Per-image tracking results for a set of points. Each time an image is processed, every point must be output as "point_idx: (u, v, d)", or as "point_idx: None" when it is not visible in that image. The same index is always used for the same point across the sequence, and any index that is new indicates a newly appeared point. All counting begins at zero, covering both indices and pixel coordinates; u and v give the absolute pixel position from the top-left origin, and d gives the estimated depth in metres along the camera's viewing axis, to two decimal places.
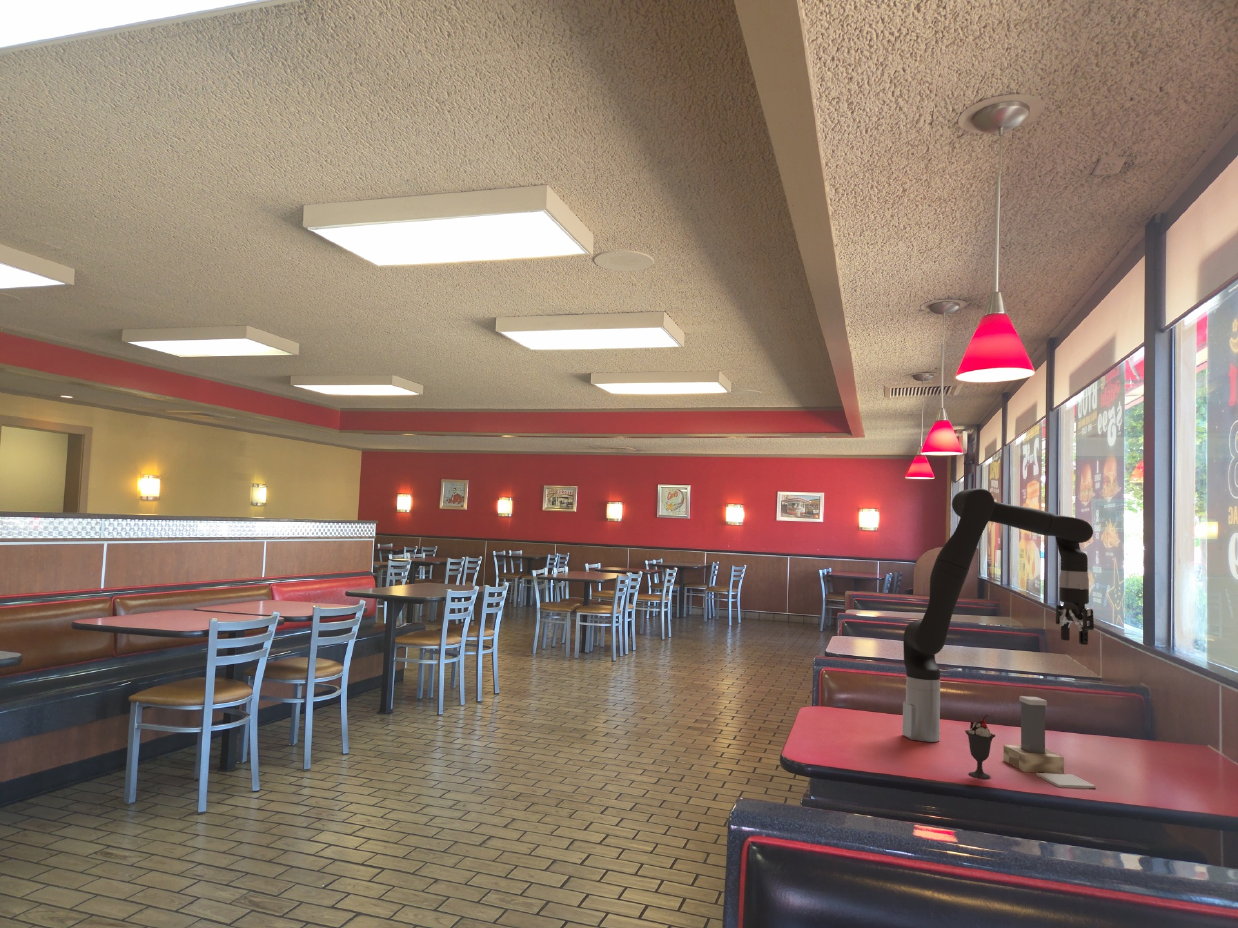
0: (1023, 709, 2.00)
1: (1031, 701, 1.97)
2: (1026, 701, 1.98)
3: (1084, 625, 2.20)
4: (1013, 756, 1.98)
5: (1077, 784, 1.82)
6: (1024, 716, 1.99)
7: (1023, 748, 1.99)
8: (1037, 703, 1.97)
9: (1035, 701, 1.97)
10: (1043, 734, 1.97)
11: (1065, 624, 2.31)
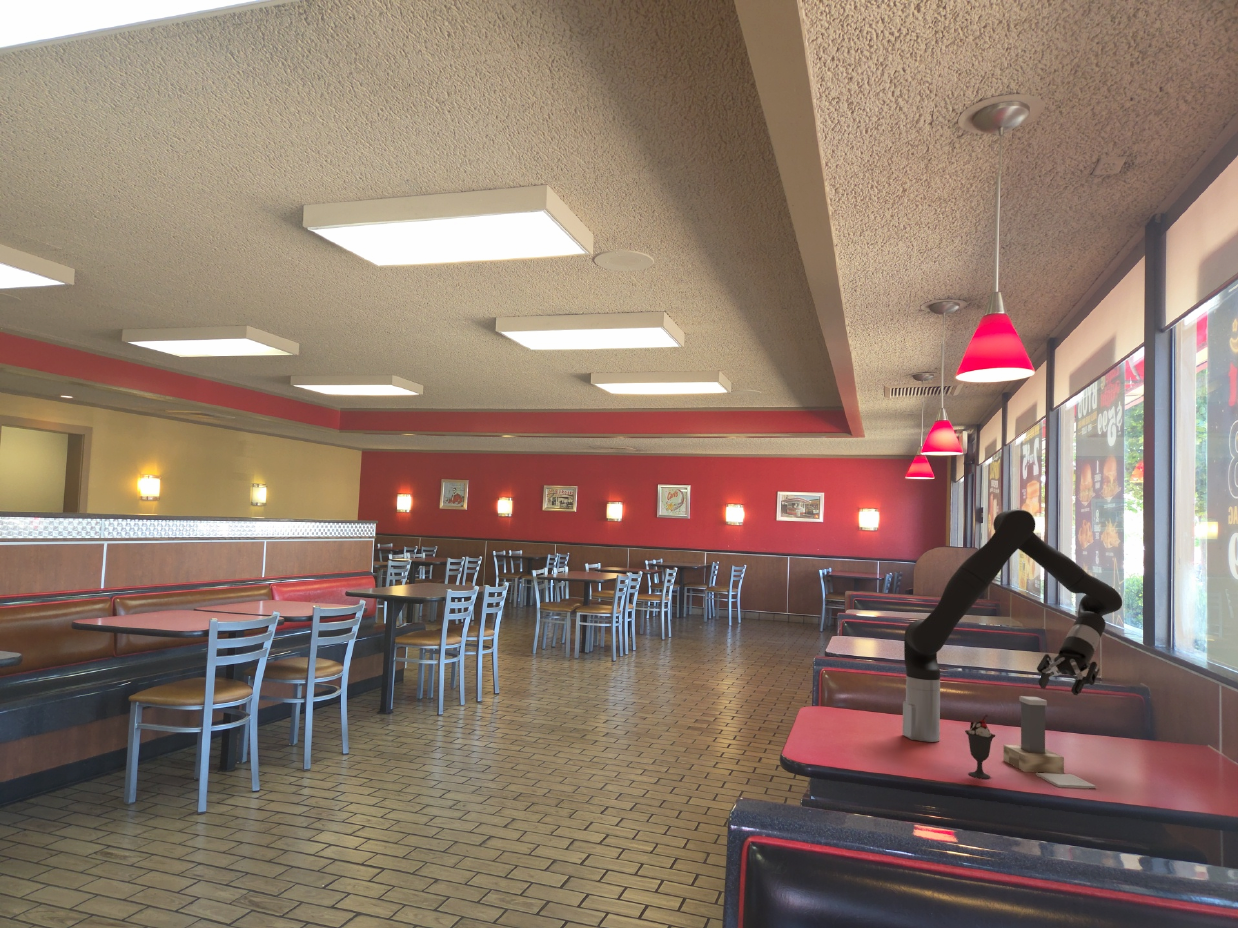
0: (1023, 709, 2.00)
1: (1031, 701, 1.97)
2: (1026, 701, 1.98)
3: (1089, 675, 2.02)
4: (1013, 756, 1.98)
5: (1077, 784, 1.82)
6: (1024, 716, 1.99)
7: (1023, 748, 1.99)
8: (1037, 703, 1.97)
9: (1035, 701, 1.97)
10: (1043, 734, 1.97)
11: None
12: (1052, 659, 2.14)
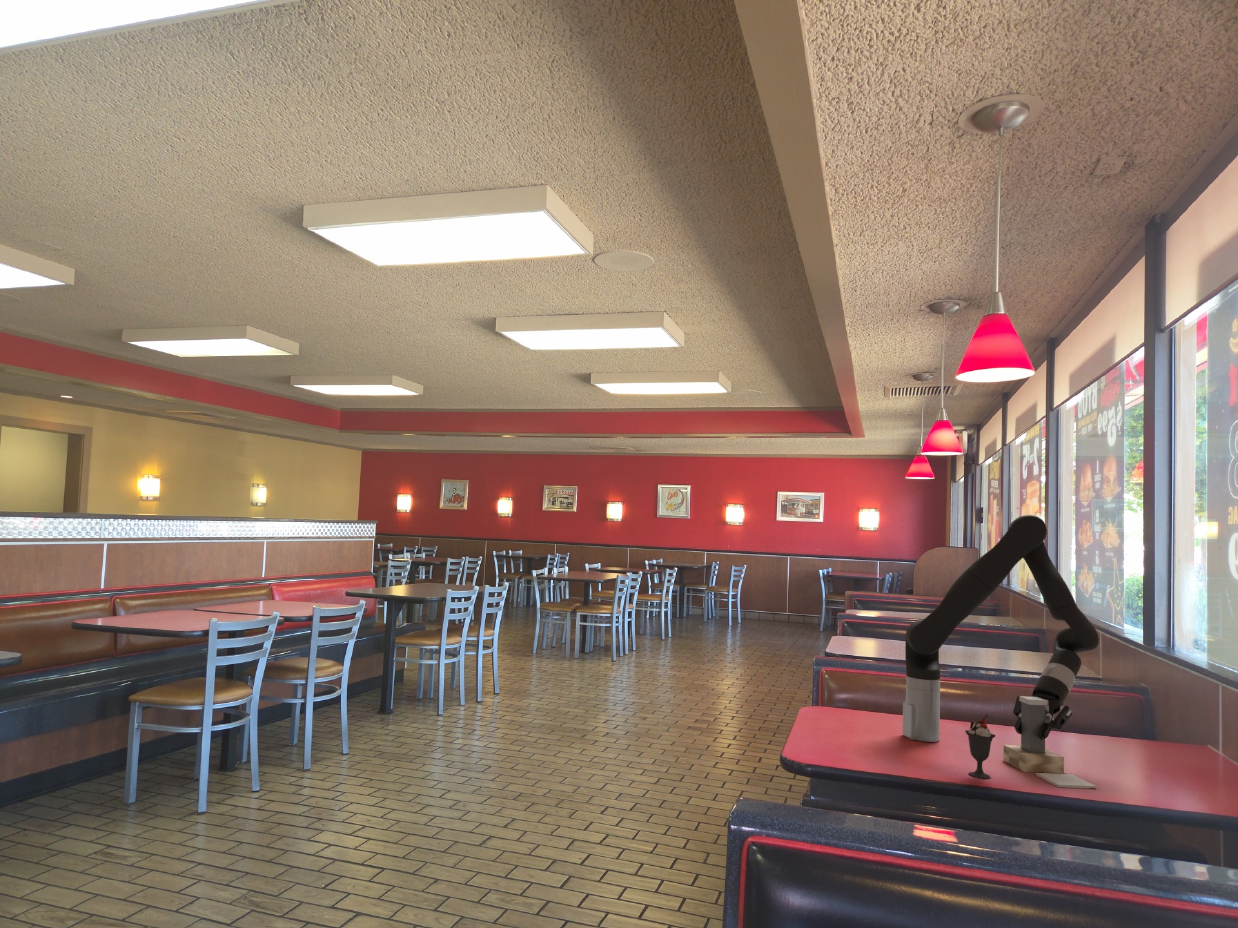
0: (1023, 709, 2.00)
1: (1031, 701, 1.97)
2: (1026, 701, 1.98)
3: (1057, 719, 1.95)
4: (1013, 756, 1.98)
5: (1077, 784, 1.82)
6: (1024, 716, 1.99)
7: (1023, 748, 1.99)
8: (1037, 703, 1.97)
9: (1035, 701, 1.97)
10: None
11: None
12: None
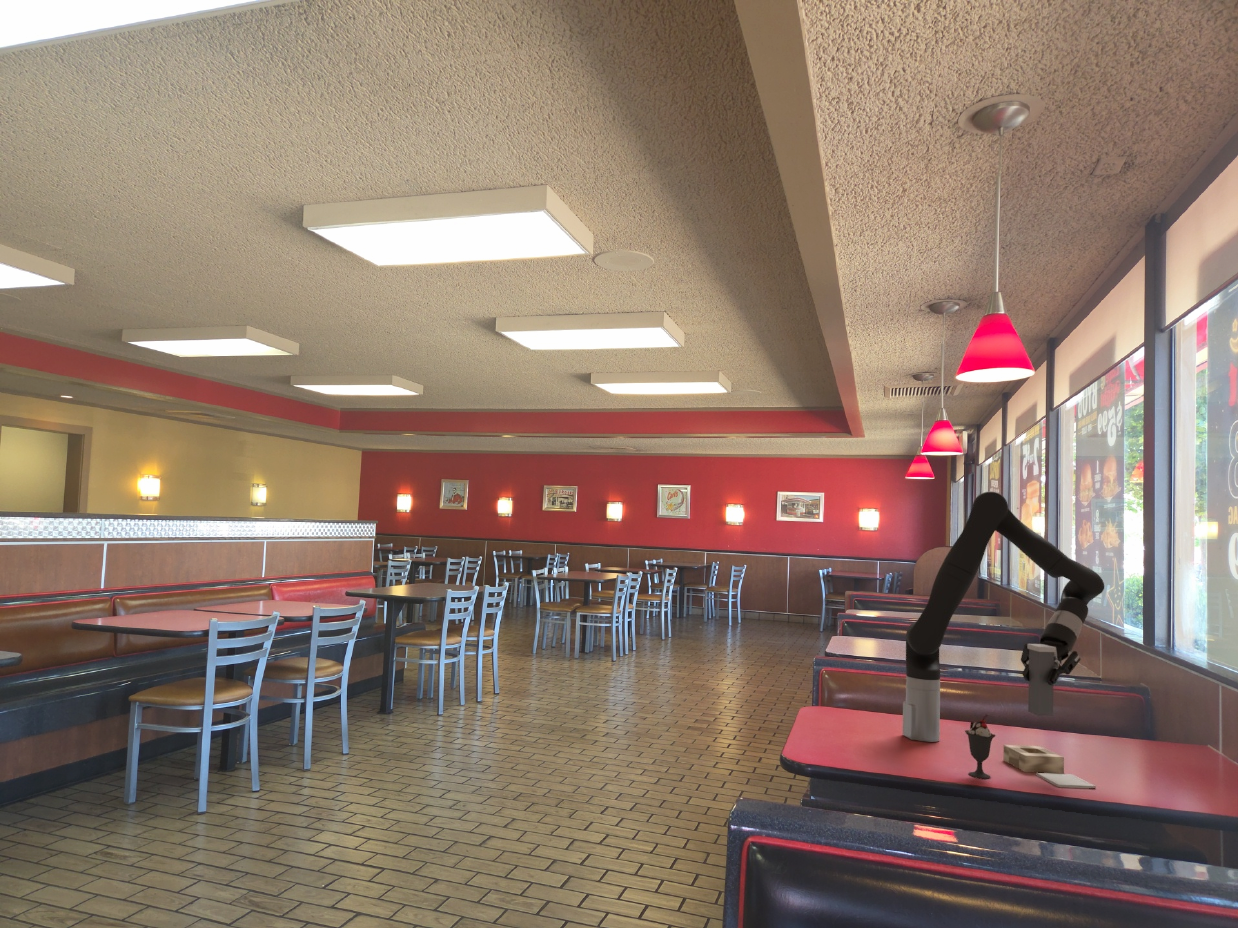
0: (1031, 657, 1.98)
1: (1041, 648, 1.95)
2: (1035, 648, 1.97)
3: (1065, 664, 1.94)
4: (1013, 756, 1.98)
5: (1077, 784, 1.82)
6: (1032, 663, 1.98)
7: (1031, 695, 1.98)
8: (1046, 650, 1.96)
9: (1044, 648, 1.96)
10: None
11: None
12: None
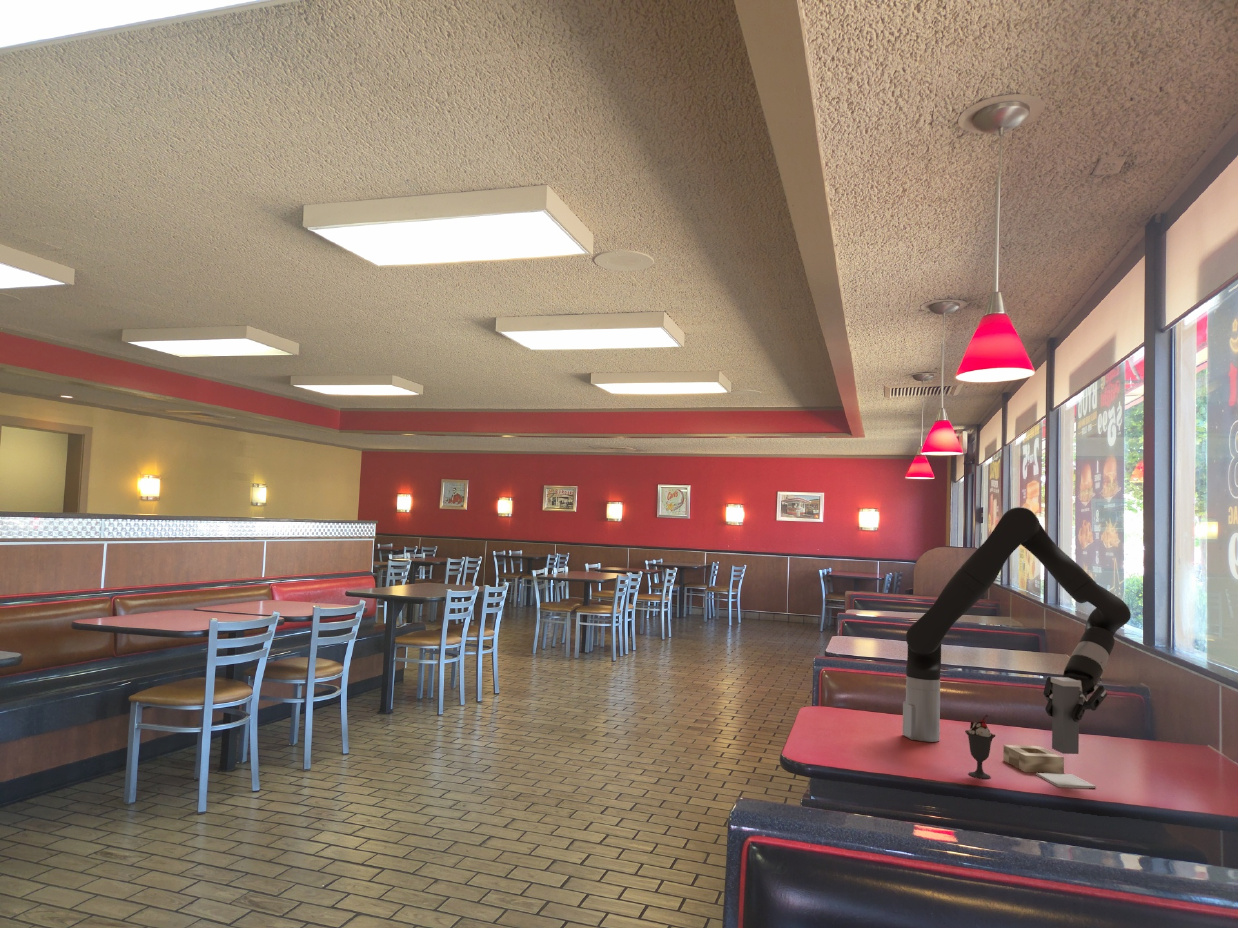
0: (1055, 691, 1.88)
1: (1065, 682, 1.85)
2: (1059, 682, 1.87)
3: (1091, 700, 1.84)
4: (1013, 756, 1.98)
5: (1077, 784, 1.82)
6: (1056, 698, 1.88)
7: (1055, 732, 1.88)
8: (1071, 684, 1.86)
9: (1069, 682, 1.86)
10: None
11: None
12: None
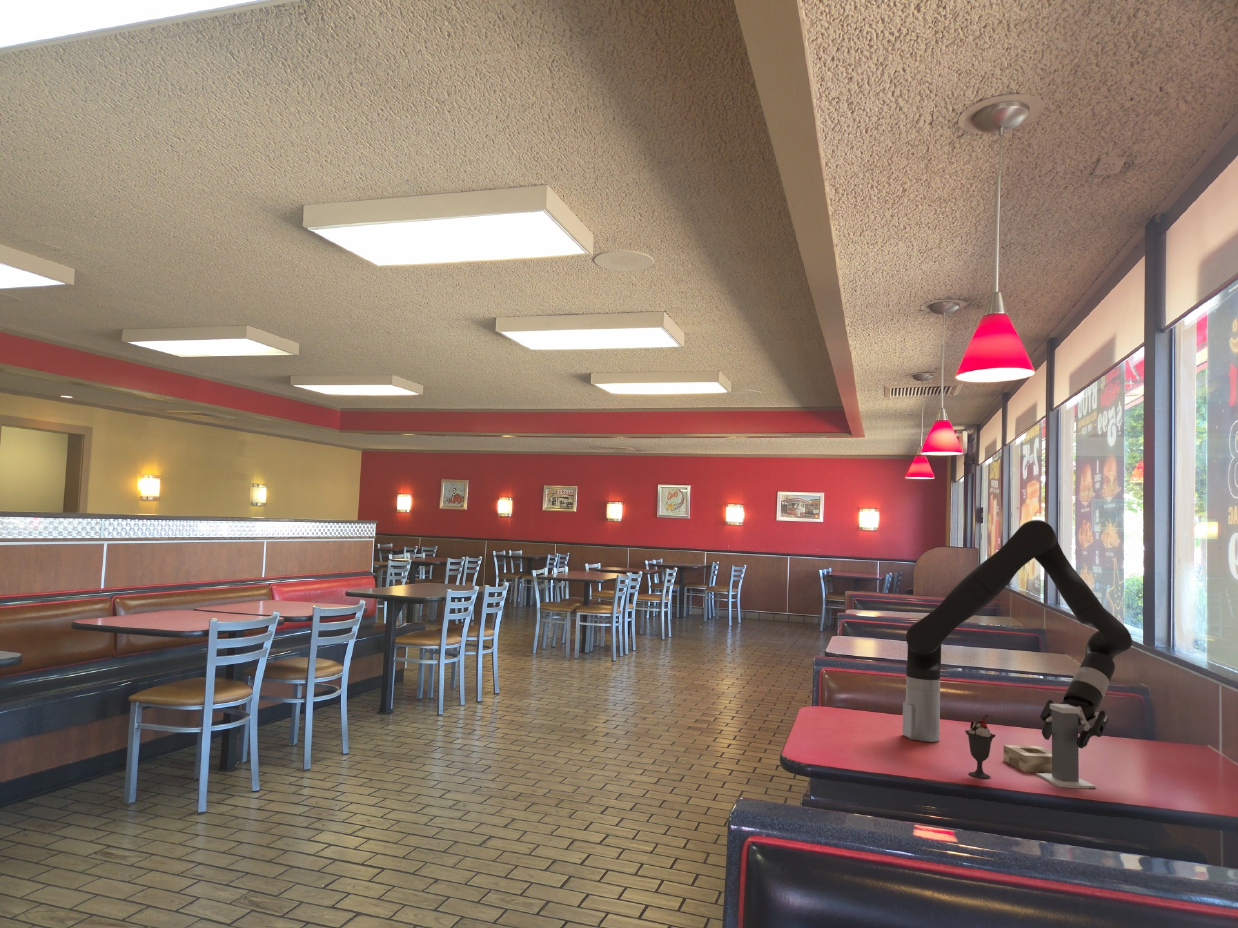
0: (1054, 718, 1.88)
1: (1064, 709, 1.85)
2: (1058, 709, 1.86)
3: (1096, 726, 1.83)
4: (1013, 756, 1.98)
5: (1077, 784, 1.82)
6: (1056, 725, 1.88)
7: (1055, 759, 1.87)
8: (1070, 711, 1.85)
9: (1068, 709, 1.85)
10: (1076, 744, 1.85)
11: None
12: None
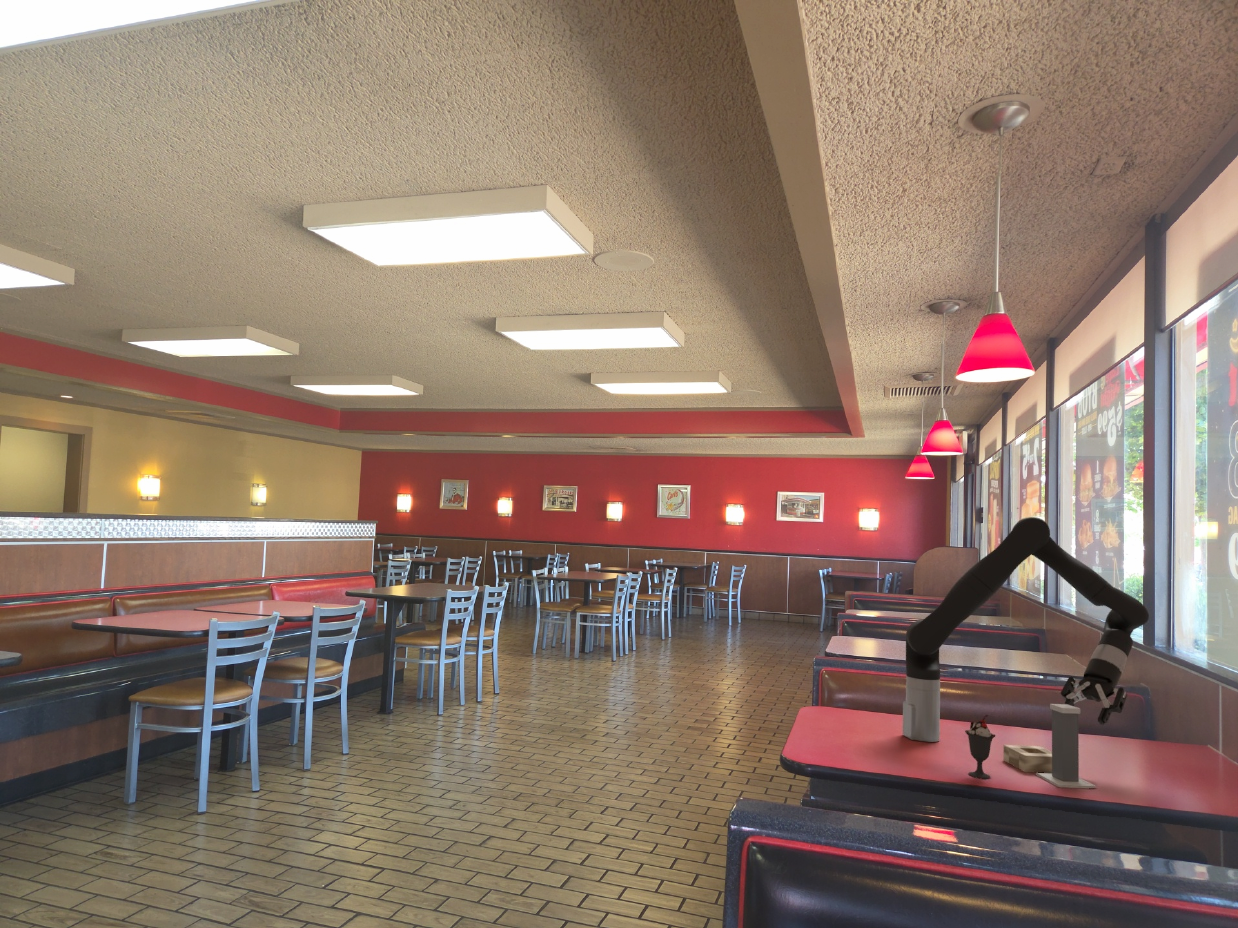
0: (1054, 718, 1.88)
1: (1064, 709, 1.85)
2: (1058, 709, 1.86)
3: (1116, 703, 1.92)
4: (1013, 756, 1.98)
5: (1077, 784, 1.82)
6: (1056, 725, 1.87)
7: (1055, 759, 1.87)
8: (1070, 711, 1.85)
9: (1068, 709, 1.85)
10: (1076, 744, 1.85)
11: (1072, 699, 2.01)
12: (1077, 682, 2.03)
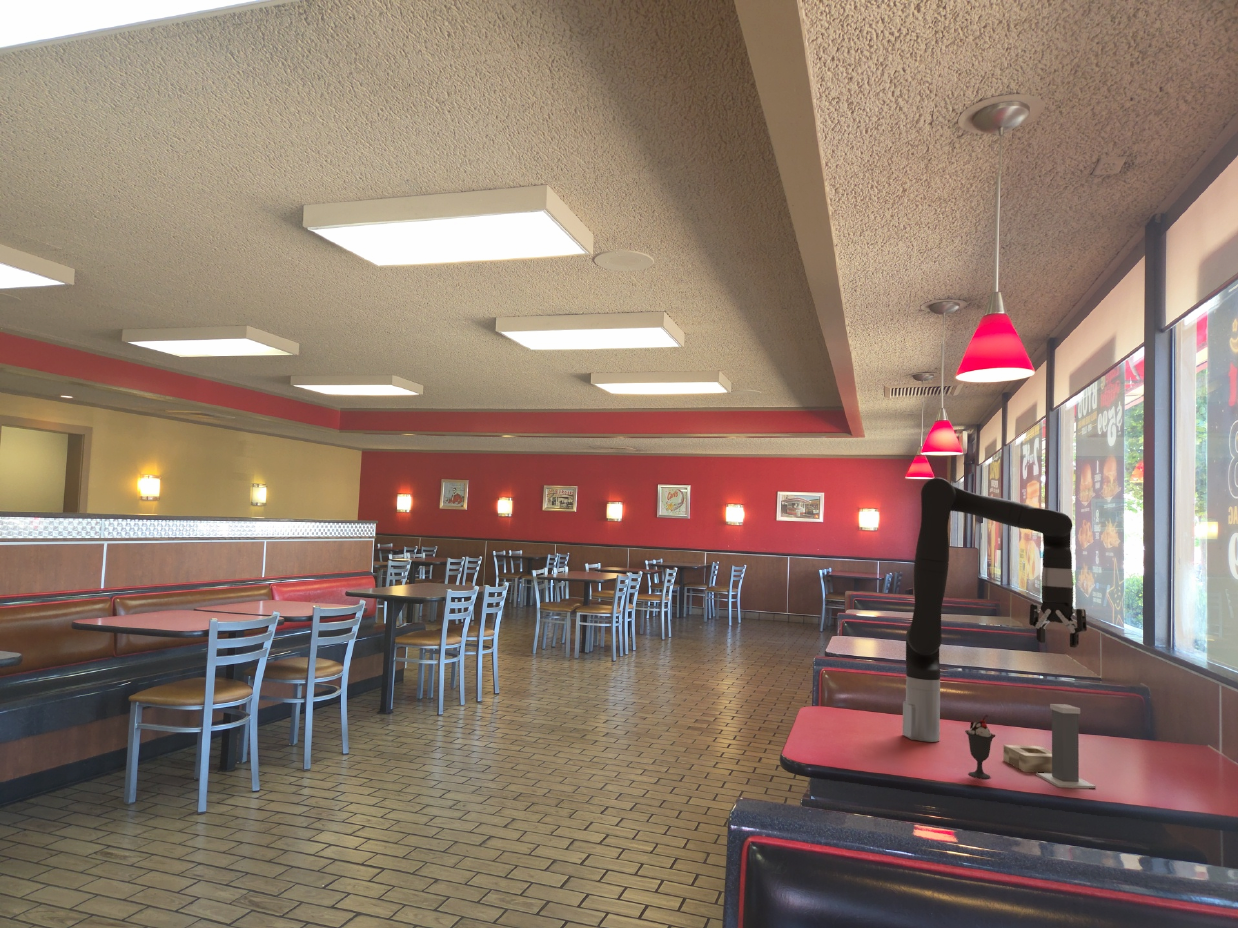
0: (1054, 718, 1.88)
1: (1064, 709, 1.85)
2: (1058, 709, 1.86)
3: (1080, 627, 2.04)
4: (1013, 756, 1.98)
5: (1077, 784, 1.82)
6: (1056, 725, 1.87)
7: (1055, 759, 1.87)
8: (1070, 711, 1.85)
9: (1068, 709, 1.85)
10: (1076, 744, 1.85)
11: None
12: (1039, 608, 2.15)
